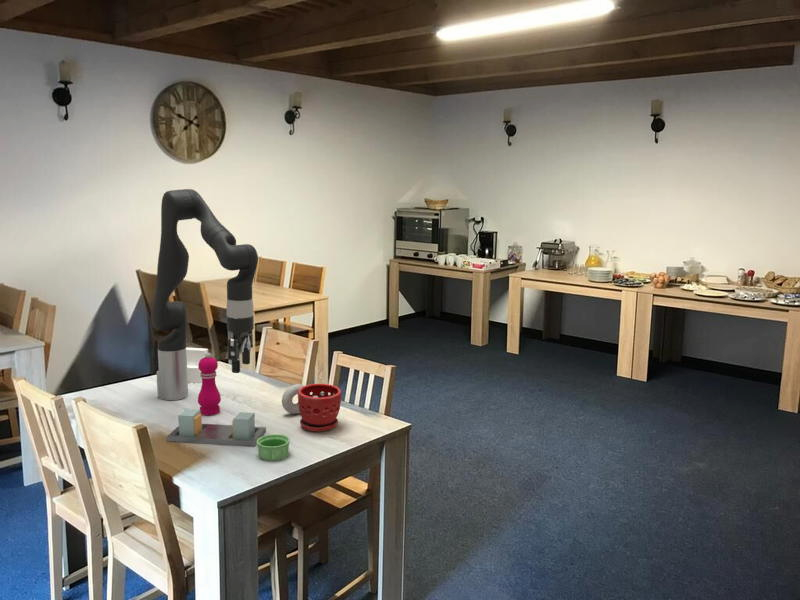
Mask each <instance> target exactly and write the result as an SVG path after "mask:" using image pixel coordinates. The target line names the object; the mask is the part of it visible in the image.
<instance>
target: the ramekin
mask: <svg viewBox="0 0 800 600" xmlns="http://www.w3.org/2000/svg"><path fill="white" fill-rule="evenodd" d="M290 441H291V438H290V436H287V435H285V434H278V433H276V434H275V433H273V434H271V433H270V434H264V435H263V436H262V437H260V438H259V439H258V440H257V444H256V445H257V451H258V452H257V453H258V457H259V458H260V459H262V460H263V461H269V460H274V461H279V459H280V460H283V459H285V458H287V456H288V455H289V449H290V448H289V447H290V443H291V442H290ZM284 457H285V458H284ZM282 458H283V459H282Z"/></svg>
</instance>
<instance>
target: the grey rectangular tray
mask: <svg viewBox="0 0 800 600" xmlns="http://www.w3.org/2000/svg"><path fill="white" fill-rule="evenodd" d="M266 432H267V427H266V426H255V434H254V435H253V436H252V438H251V439H250V440H247V439H234V437H233V424H230V425H229V424H214V423H202V430H201V432H200V433H199V434H198V435H197V436H180V435H179V425H178V426H177V427H175V429H173V430H172V431H171V432H170V433H169V434H167V436H166V442H170V441H176V442H175V443H189V444H190V443H192V444H205V445H208V444H209V445H221V446H222V445H223V446H236V445H237V447H239V446H240V447H253V448H254V447H255V446H256V445H257V440H258V439H259V438H260V437H262V436H265V435H266Z"/></svg>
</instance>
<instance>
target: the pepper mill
mask: <svg viewBox="0 0 800 600" xmlns="http://www.w3.org/2000/svg"><path fill="white" fill-rule="evenodd" d="M218 367H219V363H218V360H217V359H216V358H214V357H213V356H212V357H211V353H210V352H208V353H206V354H205V358H202V359H201V360H200V361H199V364H198V368H199V370H200V371H201V373H200V374H201V376H200V377H201V378H202V383H201V387H200V390H199V393H198V396H197V403H198V405H199V406H200V407H199V410H200V413H201V414H202V416H215V415H217V414H219V413H220V412H221V406H220V405H219V404H220V403H221V401H222V399H221V398H222V397H221V396H222V395H221V393H220V391H219V389H218V387H217V384H216V378H217V371H216V370H217V369H218Z"/></svg>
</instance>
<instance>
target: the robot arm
mask: <svg viewBox="0 0 800 600" xmlns="http://www.w3.org/2000/svg"><path fill="white" fill-rule="evenodd" d="M160 211H161V212H160V218H161V220H160V221H161V222H160V223H161V224H160V226H161V227H160V243H159V252H158V260H157V270H156V280H155V281H156V282H155V283H156V284H155V290H154V295H153V299H152V305H151V310H150V311H151V312H150V321H151V326H152V327H153V329H154V330H156V331H167V330H172V331H171V332H170V333H169V334H167V335H166V336H165V337H162V338H160V339H159V340H158V341H157V359H158V370H157V371H156V388H157V390H156V392H157V399H162V400H164V401H177V400H182V399H185V398H187V397H188V396H189V383H188V377H187V355H186V348H187V309H186V305H185V304H184V303H183V302H182V301H180V300H179V301H178V300H177V301H169V299H170V296H171V295H172V294H173V292H174V291H175V290H176V289H178V287H179V286H180V285H181V283H183V281H184V279H186V276H187V274H188V270H189V269H188V268H189V261H190V254H189V252H188V249H187V247H186V246H185V245H184V242H183V241H182V240H181V238H180V237H179V234H178V222H179V221H186V220H187V221H188V220H193V219H195V220H197V221H199V222H200V235H201V238H202V239H203V241H204V242H205V243H206V244H207V245H208V246H209V247H210V248H211V249H212V251H214V253H215V255H216V258H217V259H218V261H219V264H220V266H221V267H222V268H223V269H225V270H228V271H231V272H232V271H238V270H239V271H238V273H237V275H236V276H234V277H232V278H230V279H228V280H227V282H226V298H227V299H226V307H225V309H226V329H227V331H228V332H231V333H232V336H231V338H228V339H227V359H228V361H231V373H233V374H239V373H240V372H241V363H242V364H243V365H249V364H251V351H252V349H253V348H254V338H253V336H254V335H253V330H255V329H254V327H255V324H254V323H255V322H254V321H255V320H254V319H255V318H254V302H253V283H254V279H255V275H256V271H257V267H258V264H259V263H258V262H259V255H258V252H257V249H256V248H255V247H254V246H253V245H251V244H248V243H245V244H244V243H243V244H237V239H236V236H234V234H232V233H231V232H230V231H229V230H228V229H227V228H226V227H225V226H224V225H223V224H222V223H221V221H219V220H218V218H217V217H216V216H215V214H214V213H213V211H212V209H210V207H209V205H208V204H207V202H206V201H205V200H204V198H203V197H202V196H201V194H200V193H198V191H196V190H195V189H191V188H186V189H185V188H184V189H175V190H173V189H172V190H168V191H166V192H164V194H163V196H162V199H161V208H160Z"/></svg>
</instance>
